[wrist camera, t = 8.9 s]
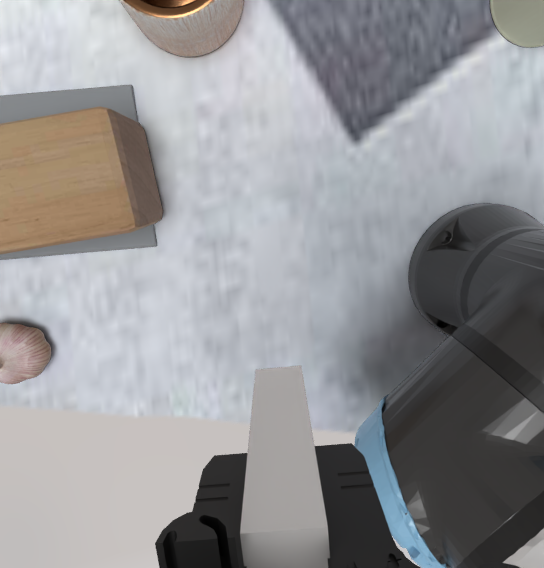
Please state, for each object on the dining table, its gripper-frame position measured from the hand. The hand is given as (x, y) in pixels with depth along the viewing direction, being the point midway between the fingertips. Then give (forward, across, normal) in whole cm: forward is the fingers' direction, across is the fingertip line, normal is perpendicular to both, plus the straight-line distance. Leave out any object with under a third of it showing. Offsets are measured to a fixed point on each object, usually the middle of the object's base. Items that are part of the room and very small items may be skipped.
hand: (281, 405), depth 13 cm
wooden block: (+26, +11, -10) cm, 30 cm away
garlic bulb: (+32, +30, +8) cm, 44 cm away
